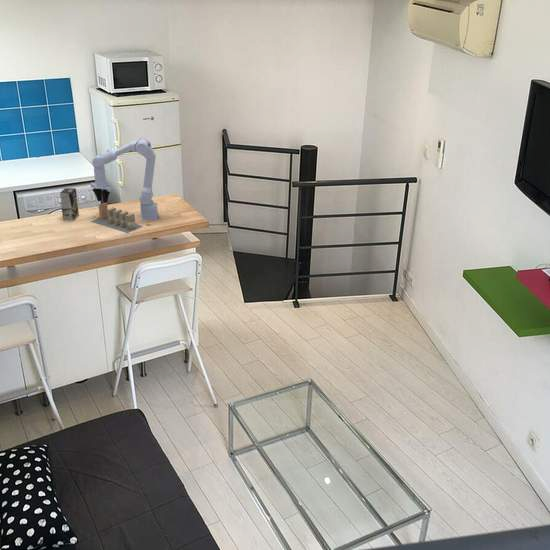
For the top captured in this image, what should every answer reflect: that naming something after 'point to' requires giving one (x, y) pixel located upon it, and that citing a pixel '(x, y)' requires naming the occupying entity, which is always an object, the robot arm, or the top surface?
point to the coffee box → (69, 204)
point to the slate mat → (105, 223)
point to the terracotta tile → (103, 210)
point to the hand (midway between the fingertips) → (102, 201)
